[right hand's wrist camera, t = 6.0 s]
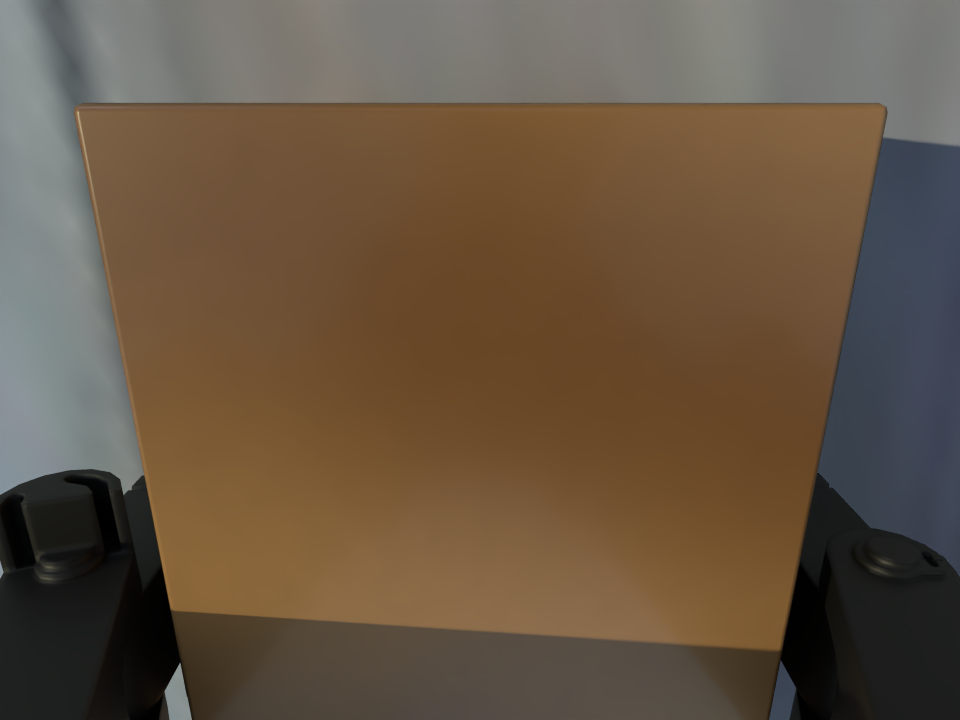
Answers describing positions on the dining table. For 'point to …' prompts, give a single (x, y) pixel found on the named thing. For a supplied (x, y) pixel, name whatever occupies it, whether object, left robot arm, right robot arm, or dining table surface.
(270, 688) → the bar
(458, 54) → the dining table surface
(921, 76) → the dining table surface
